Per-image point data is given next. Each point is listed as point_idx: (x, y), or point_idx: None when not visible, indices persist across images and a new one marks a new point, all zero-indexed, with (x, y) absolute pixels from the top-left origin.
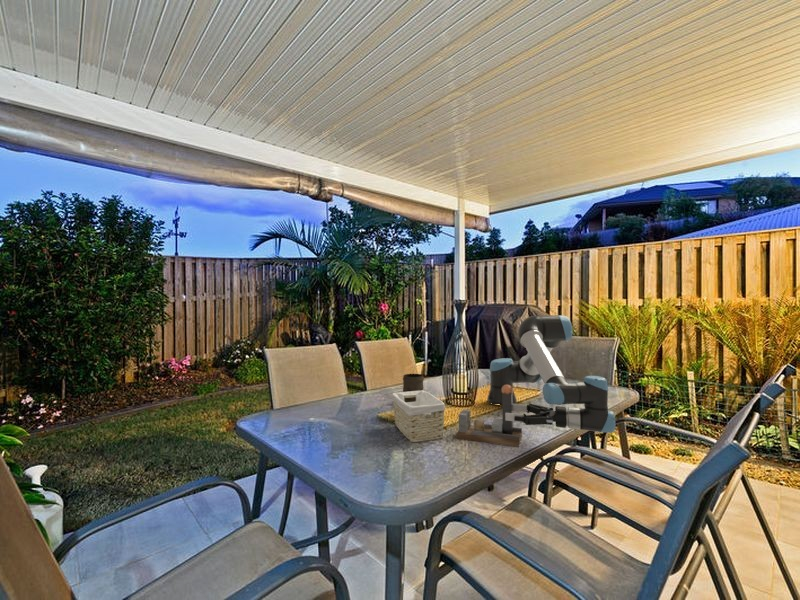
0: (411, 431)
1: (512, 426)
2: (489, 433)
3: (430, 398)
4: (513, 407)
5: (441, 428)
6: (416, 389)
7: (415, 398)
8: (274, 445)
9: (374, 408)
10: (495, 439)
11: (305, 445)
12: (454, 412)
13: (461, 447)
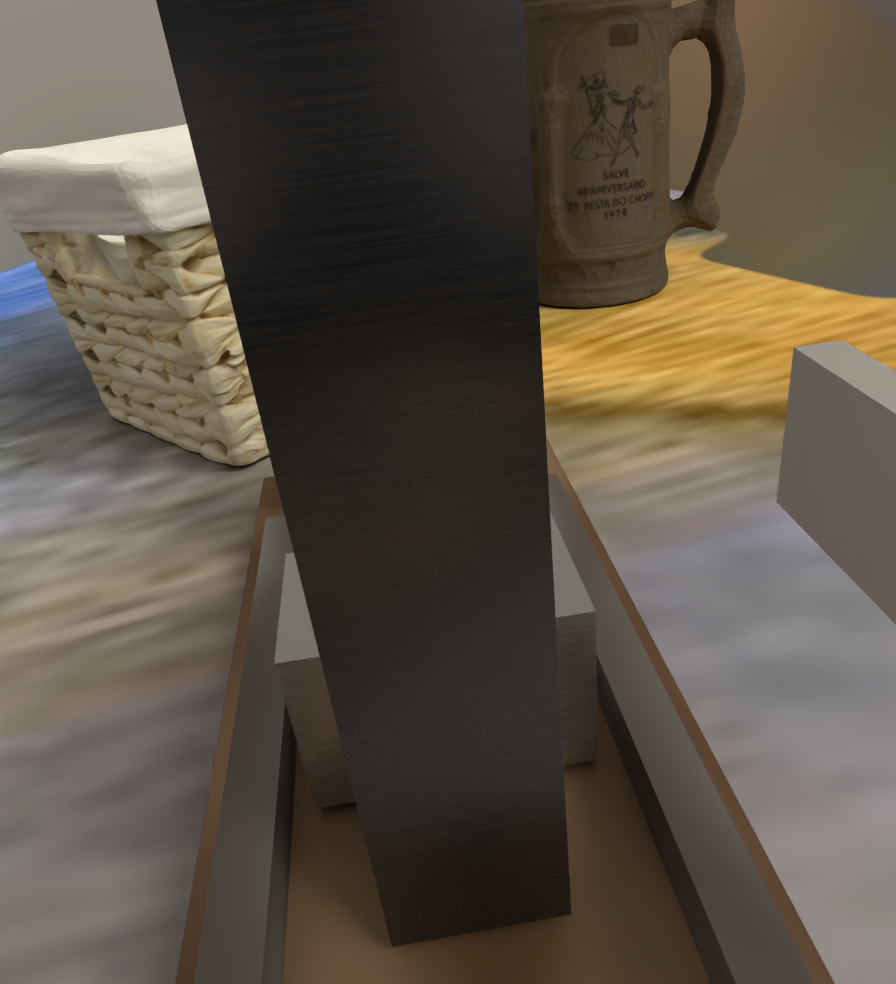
0: (76, 345)
1: (473, 825)
2: (245, 656)
3: None
4: (832, 470)
5: (205, 393)
6: (541, 87)
7: (539, 160)
8: (15, 269)
9: None
10: (216, 776)
11: (21, 291)
12: (887, 334)
13: (48, 609)
